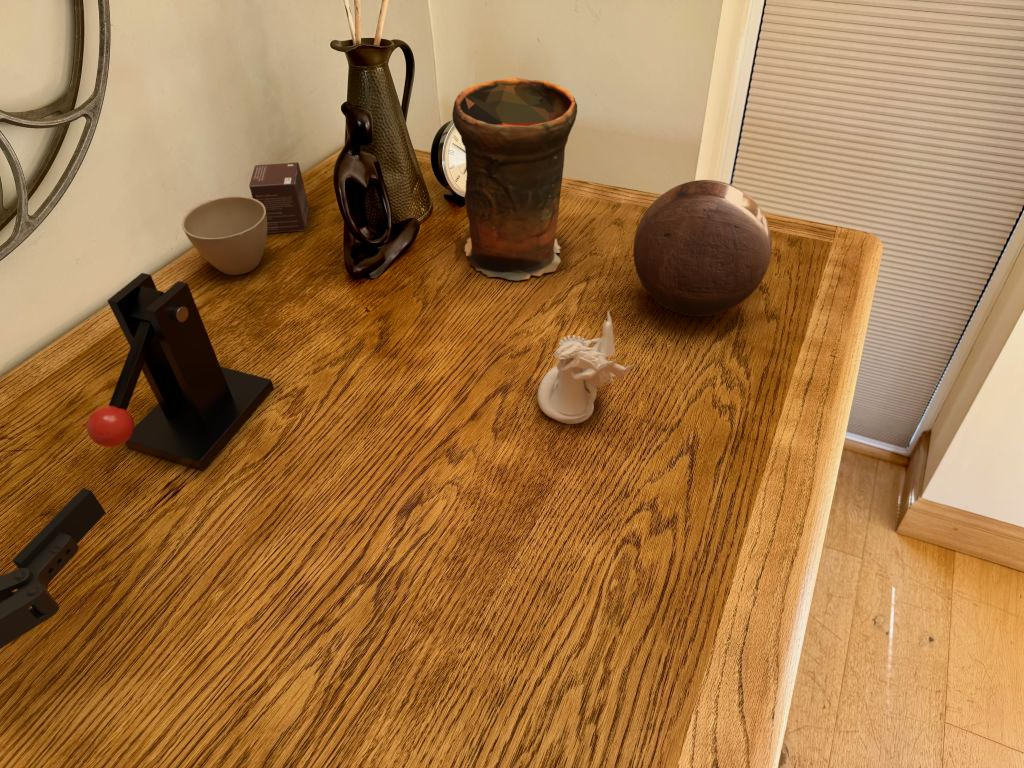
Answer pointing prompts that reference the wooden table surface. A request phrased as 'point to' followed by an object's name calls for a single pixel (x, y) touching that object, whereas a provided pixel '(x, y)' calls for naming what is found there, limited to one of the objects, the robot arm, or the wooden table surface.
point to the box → (281, 196)
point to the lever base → (185, 380)
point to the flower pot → (228, 232)
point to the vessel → (514, 173)
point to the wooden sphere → (702, 248)
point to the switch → (125, 381)
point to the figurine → (579, 376)
